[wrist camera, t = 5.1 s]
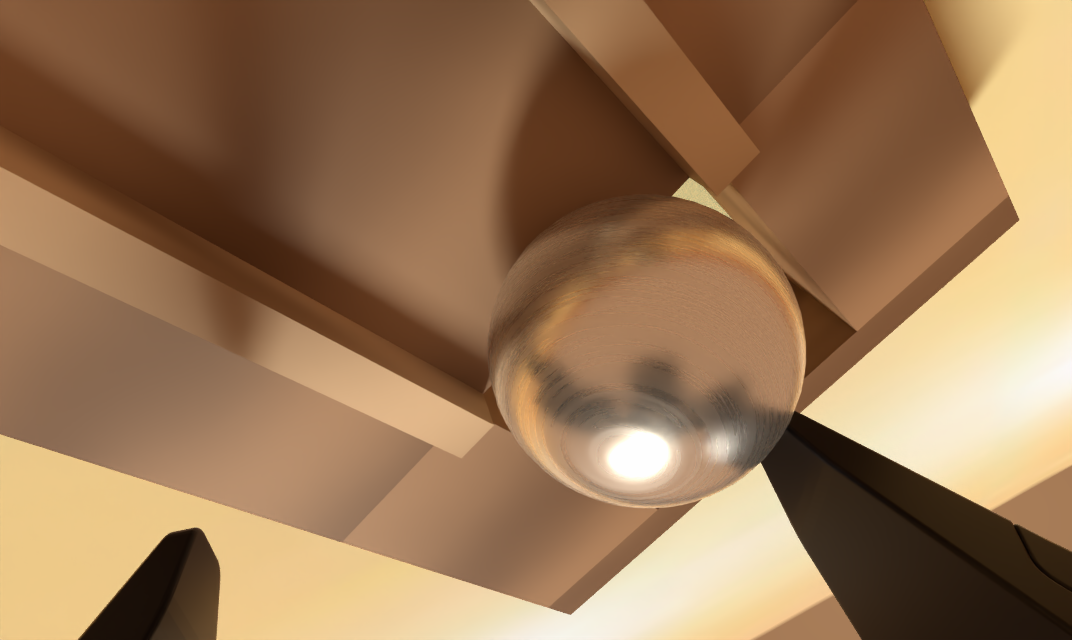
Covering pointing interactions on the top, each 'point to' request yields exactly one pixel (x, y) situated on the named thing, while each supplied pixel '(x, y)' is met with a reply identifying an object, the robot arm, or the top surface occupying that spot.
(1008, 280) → the top surface
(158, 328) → the hole deck
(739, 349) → the steel ball
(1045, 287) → the top surface
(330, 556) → the top surface
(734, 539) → the top surface
